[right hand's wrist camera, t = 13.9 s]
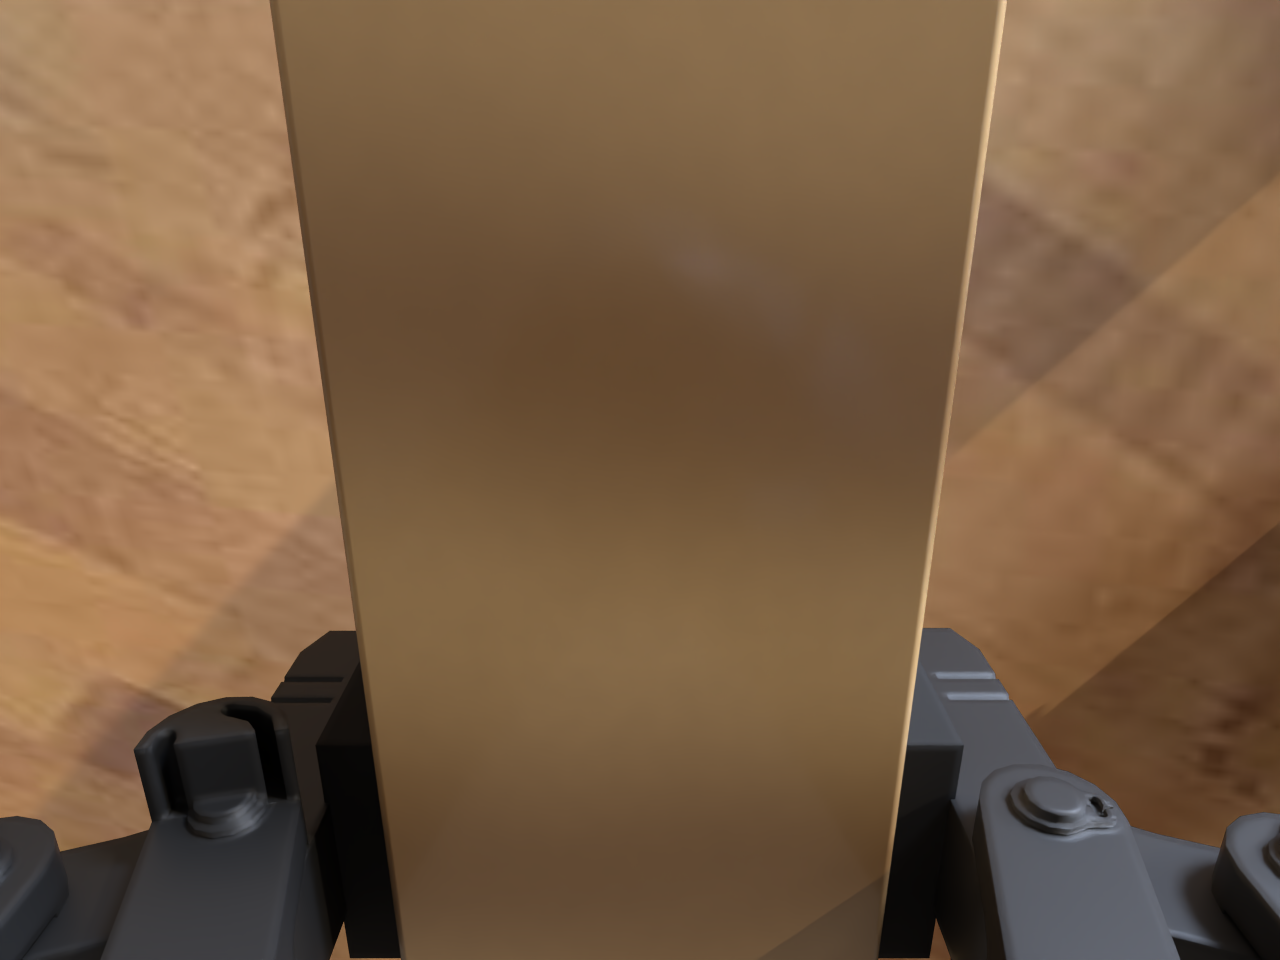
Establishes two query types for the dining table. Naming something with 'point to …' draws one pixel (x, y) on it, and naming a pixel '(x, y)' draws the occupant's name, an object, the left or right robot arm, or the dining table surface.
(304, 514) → the dining table surface
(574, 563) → the post
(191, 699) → the dining table surface
